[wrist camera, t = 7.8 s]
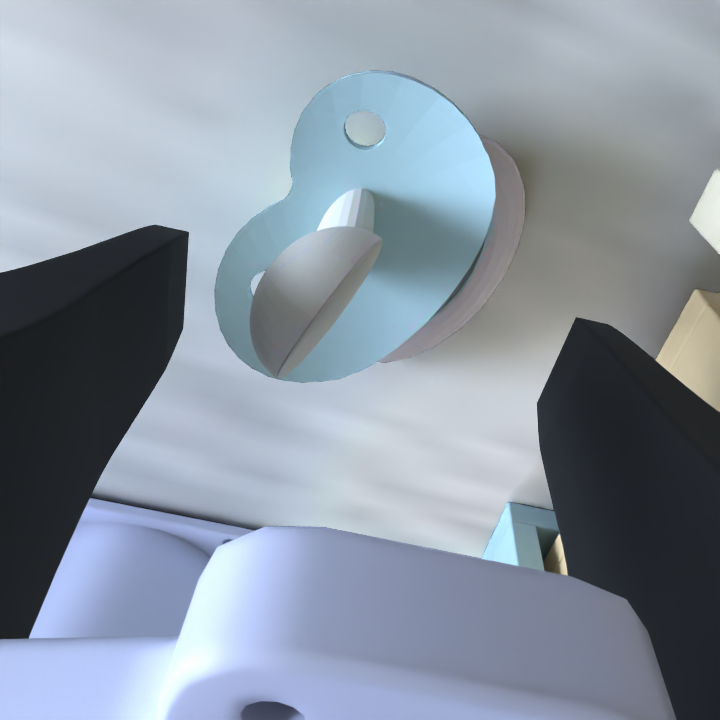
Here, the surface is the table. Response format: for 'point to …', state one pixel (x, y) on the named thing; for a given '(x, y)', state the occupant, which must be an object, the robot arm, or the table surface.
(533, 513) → the cabinet
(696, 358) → the drawer
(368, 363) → the pacifier
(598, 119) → the table surface
